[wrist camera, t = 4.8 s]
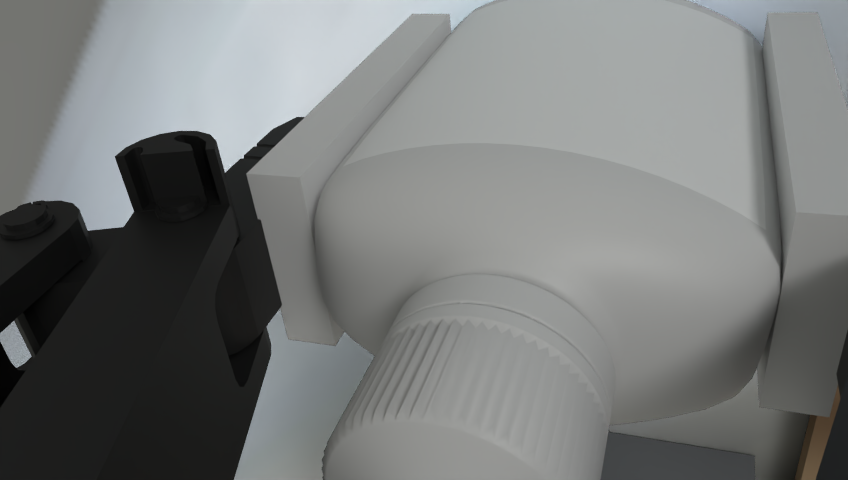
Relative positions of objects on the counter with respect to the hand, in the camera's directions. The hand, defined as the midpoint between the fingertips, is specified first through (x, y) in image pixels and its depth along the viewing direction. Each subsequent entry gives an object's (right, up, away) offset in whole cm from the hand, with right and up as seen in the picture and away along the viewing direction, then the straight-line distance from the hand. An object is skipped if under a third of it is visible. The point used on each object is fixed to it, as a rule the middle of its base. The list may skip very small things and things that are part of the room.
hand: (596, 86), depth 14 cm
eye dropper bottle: (0, +1, +1) cm, 1 cm away
